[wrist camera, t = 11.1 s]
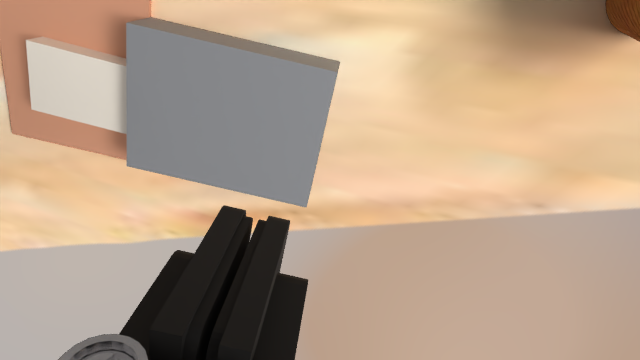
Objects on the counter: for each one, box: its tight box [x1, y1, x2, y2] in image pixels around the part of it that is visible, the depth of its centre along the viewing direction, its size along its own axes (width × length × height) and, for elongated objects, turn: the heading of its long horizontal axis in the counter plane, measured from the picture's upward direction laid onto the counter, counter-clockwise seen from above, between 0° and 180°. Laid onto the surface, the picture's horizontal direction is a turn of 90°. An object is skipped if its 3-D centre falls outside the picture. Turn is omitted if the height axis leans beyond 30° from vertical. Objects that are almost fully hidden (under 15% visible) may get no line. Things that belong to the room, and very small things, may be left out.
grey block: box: [126, 17, 340, 207], centre depth 36 cm, size 16×12×4 cm
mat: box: [0, 0, 151, 160], centre depth 37 cm, size 13×15×1 cm
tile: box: [26, 36, 127, 134], centre depth 36 cm, size 9×6×2 cm, turn 76°
